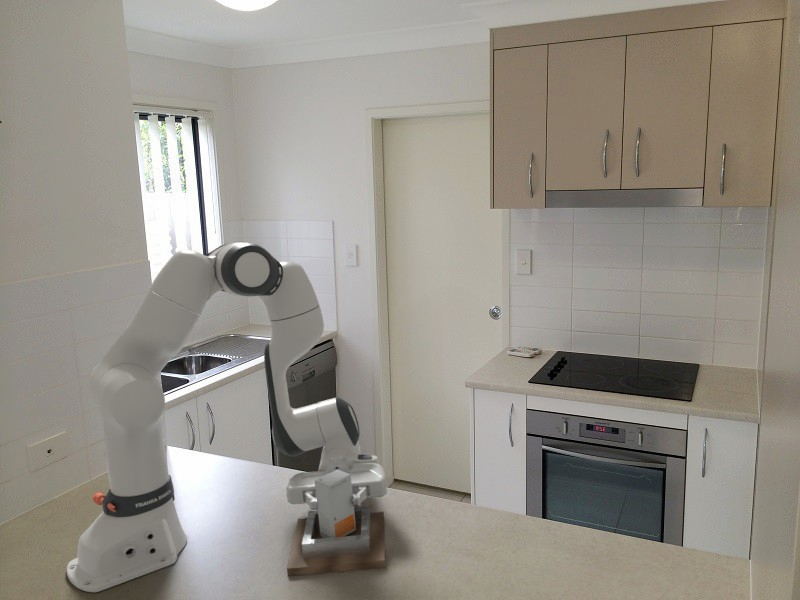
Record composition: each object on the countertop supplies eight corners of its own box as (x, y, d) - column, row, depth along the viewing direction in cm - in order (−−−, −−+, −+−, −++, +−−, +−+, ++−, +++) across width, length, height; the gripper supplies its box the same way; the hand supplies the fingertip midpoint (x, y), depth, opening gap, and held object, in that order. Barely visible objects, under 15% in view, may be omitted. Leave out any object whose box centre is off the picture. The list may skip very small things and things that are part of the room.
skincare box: (334, 543, 129) (327, 486, 127) (320, 536, 132) (313, 480, 130) (357, 529, 134) (351, 473, 131) (343, 523, 137) (337, 468, 134)
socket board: (287, 575, 124) (285, 553, 124) (298, 525, 142) (296, 505, 141) (385, 567, 125) (383, 545, 124) (384, 518, 142) (382, 498, 141)
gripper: (288, 463, 144) (279, 494, 130) (384, 455, 144) (385, 485, 130) (291, 490, 145) (283, 524, 131) (387, 482, 145) (388, 515, 132)
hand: (335, 504), depth 131 cm, fingers closed on skincare box, 7 cm apart
